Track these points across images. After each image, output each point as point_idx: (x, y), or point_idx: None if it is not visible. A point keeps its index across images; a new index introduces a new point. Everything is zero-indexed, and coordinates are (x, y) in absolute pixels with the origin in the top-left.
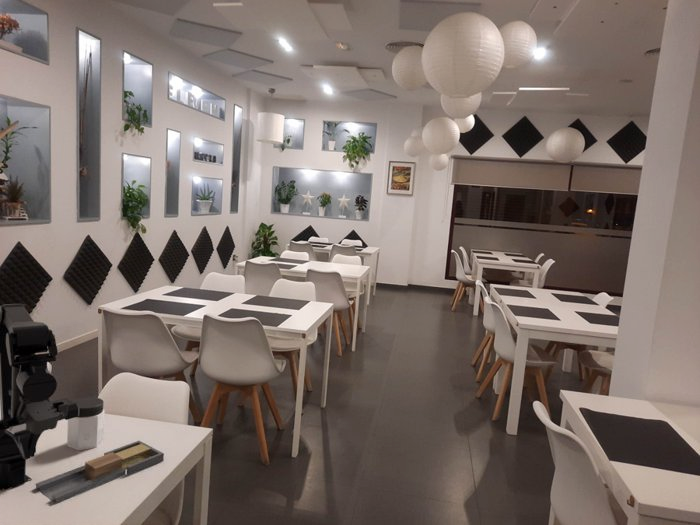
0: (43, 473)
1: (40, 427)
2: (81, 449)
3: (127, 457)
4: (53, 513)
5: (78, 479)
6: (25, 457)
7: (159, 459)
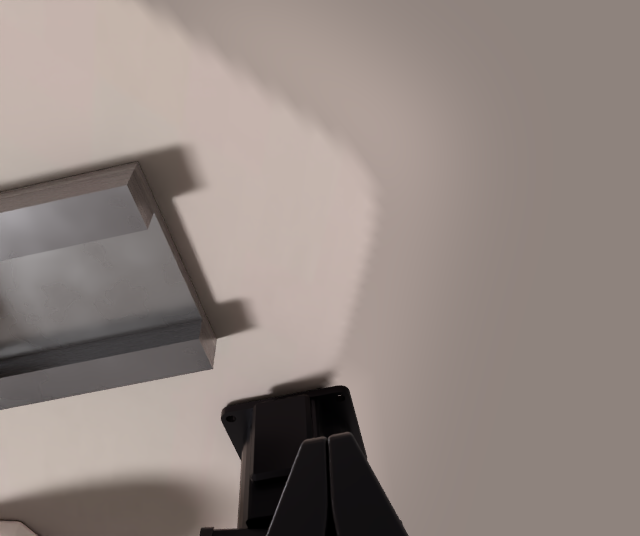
0: (169, 442)
1: None
2: (1, 529)
3: None
4: (157, 90)
5: (7, 332)
6: (360, 454)
7: None
